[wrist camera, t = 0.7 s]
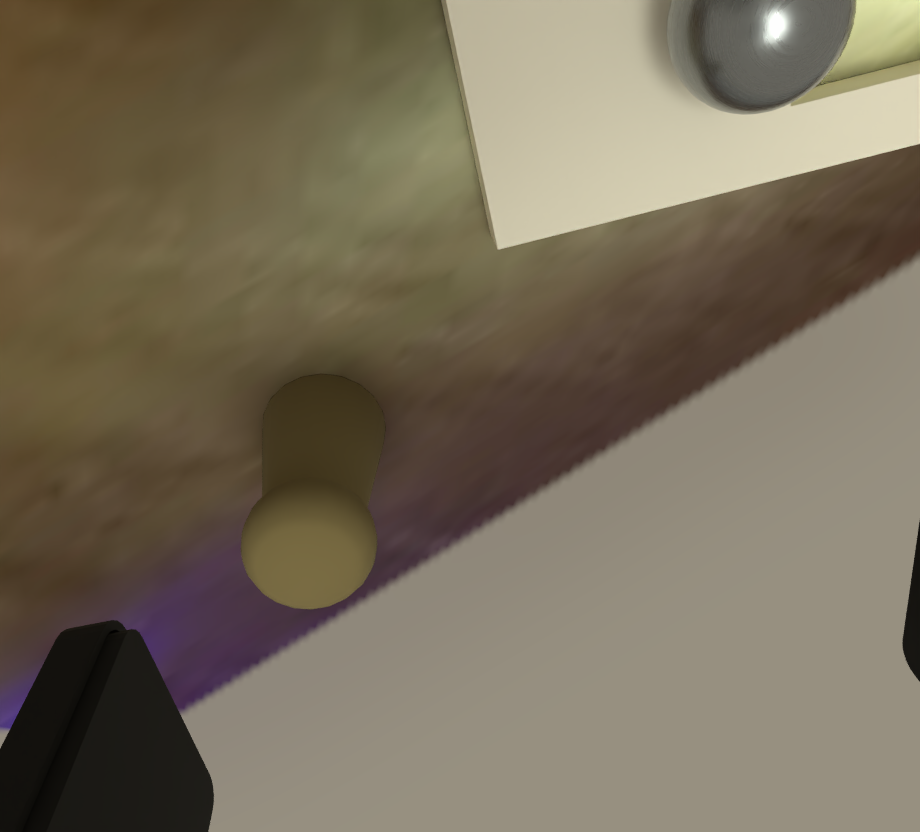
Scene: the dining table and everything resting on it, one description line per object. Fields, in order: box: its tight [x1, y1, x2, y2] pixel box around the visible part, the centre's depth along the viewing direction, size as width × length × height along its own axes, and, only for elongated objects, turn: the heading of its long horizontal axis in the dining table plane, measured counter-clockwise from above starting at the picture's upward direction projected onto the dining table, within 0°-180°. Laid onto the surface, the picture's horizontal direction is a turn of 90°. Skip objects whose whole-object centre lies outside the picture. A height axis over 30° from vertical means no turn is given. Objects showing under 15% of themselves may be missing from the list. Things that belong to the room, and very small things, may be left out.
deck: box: [441, 0, 920, 250], centre depth 30 cm, size 13×22×2 cm, turn 103°
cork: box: [241, 374, 386, 609], centre depth 34 cm, size 6×6×11 cm
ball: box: [666, 0, 856, 115], centre depth 26 cm, size 6×6×6 cm
